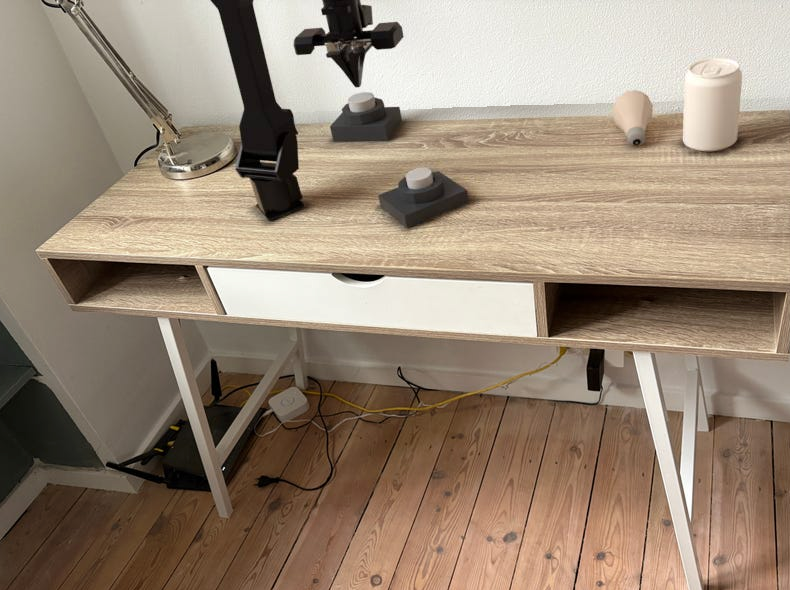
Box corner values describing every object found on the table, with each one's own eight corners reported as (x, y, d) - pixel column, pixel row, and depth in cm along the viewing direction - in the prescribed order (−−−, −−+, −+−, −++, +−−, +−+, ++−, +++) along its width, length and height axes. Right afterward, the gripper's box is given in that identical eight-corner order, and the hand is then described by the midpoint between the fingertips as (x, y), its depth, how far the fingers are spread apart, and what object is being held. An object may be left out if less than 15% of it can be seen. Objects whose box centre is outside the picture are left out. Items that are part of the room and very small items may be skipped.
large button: (379, 102, 151) (377, 91, 150) (370, 113, 148) (368, 102, 147) (355, 103, 153) (353, 92, 152) (346, 114, 150) (343, 103, 148)
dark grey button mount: (402, 121, 154) (397, 96, 151) (388, 140, 149) (382, 114, 146) (349, 123, 158) (343, 97, 155) (333, 141, 152) (327, 116, 149)
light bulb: (654, 121, 127) (647, 76, 133) (611, 132, 129) (606, 88, 135) (661, 152, 132) (654, 108, 138) (620, 163, 134) (614, 118, 140)
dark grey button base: (407, 228, 123) (402, 205, 120) (380, 207, 129) (375, 184, 127) (469, 202, 126) (465, 178, 124) (440, 183, 133) (436, 160, 130)
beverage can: (743, 134, 129) (750, 58, 122) (727, 157, 124) (733, 79, 117) (692, 129, 133) (696, 55, 126) (675, 151, 128) (677, 75, 121)
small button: (415, 193, 123) (413, 182, 122) (403, 184, 126) (401, 174, 125) (438, 183, 125) (436, 173, 123) (425, 175, 127) (423, 165, 126)
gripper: (404, -23, 141) (419, 66, 151) (306, -14, 147) (327, 72, 157) (384, -3, 133) (401, 90, 143) (281, 6, 139) (305, 95, 149)
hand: (358, 86), depth 148 cm, fingers closed
